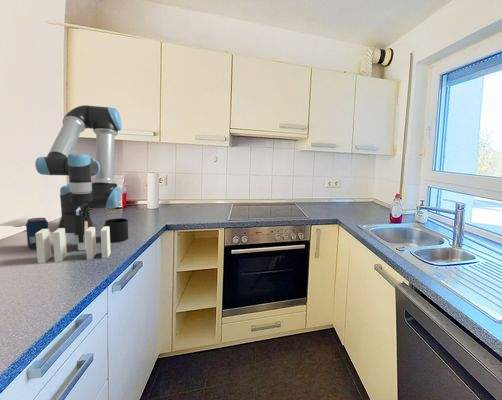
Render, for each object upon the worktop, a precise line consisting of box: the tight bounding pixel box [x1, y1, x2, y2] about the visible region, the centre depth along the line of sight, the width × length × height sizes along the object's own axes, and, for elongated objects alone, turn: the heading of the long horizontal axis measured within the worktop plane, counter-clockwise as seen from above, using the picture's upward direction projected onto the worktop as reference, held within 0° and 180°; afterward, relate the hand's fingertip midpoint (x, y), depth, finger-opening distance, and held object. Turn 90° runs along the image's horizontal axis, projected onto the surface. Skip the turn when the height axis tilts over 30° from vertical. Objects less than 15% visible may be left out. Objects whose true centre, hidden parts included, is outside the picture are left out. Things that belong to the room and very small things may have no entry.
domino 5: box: [100, 225, 112, 259], centre depth 100 cm, size 2×6×11 cm, turn 20°
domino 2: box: [52, 227, 68, 263], centre depth 95 cm, size 2×6×11 cm, turn 19°
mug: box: [102, 217, 129, 243], centre depth 120 cm, size 9×12×9 cm
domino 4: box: [85, 226, 97, 261], centre depth 99 cm, size 2×6×11 cm, turn 20°
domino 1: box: [35, 228, 52, 264], centre depth 94 cm, size 2×6×11 cm, turn 19°
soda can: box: [25, 217, 49, 251], centre depth 105 cm, size 7×7×12 cm
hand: (84, 246), depth 108 cm, fingers closed on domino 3, 6 cm apart
